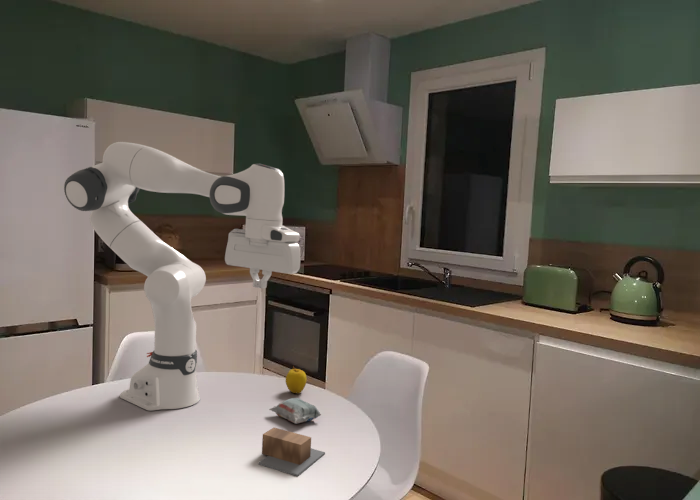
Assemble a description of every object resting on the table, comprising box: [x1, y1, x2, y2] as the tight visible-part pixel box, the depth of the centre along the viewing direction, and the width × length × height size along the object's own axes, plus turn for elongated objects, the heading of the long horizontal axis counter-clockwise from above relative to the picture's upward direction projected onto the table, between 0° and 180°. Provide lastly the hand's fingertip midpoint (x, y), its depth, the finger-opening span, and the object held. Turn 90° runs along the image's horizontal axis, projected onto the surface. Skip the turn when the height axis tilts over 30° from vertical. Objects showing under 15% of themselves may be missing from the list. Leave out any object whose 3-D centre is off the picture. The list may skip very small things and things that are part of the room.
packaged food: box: [268, 397, 322, 425], centre depth 139 cm, size 9×12×5 cm
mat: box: [257, 448, 326, 477], centre depth 117 cm, size 10×12×1 cm
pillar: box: [261, 427, 312, 465], centre depth 117 cm, size 4×4×10 cm
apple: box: [285, 366, 308, 394], centre depth 159 cm, size 6×6×8 cm
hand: (259, 287), depth 128 cm, fingers closed
